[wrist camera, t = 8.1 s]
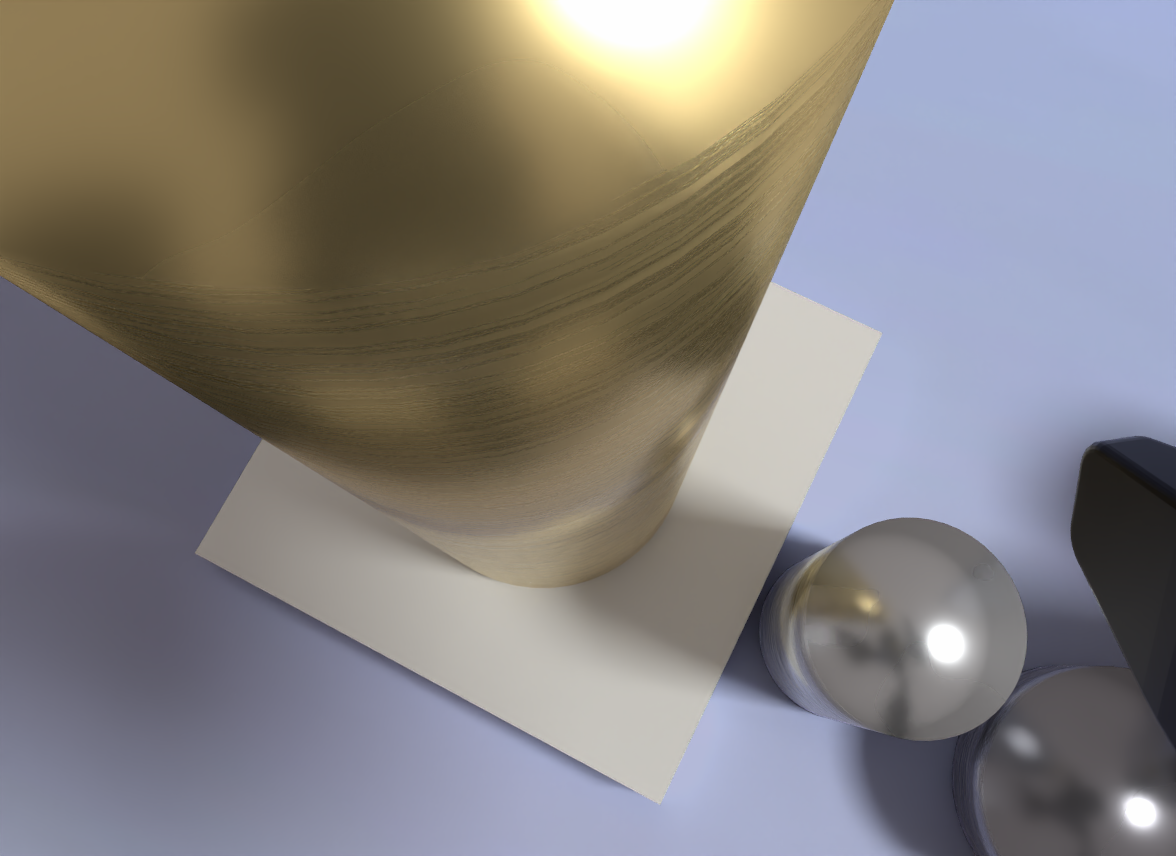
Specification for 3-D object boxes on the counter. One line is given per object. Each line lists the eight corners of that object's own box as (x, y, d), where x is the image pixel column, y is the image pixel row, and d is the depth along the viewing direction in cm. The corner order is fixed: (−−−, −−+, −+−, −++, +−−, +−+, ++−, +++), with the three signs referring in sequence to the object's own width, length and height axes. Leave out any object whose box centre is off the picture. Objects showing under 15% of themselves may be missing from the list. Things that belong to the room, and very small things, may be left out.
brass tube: (657, 613, 15) (898, 424, 3) (374, 557, 16) (-654, 135, 3) (706, 339, 16) (1065, -790, 4) (439, 290, 16) (-124, -922, 4)
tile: (657, 796, 15) (660, 804, 15) (214, 558, 16) (195, 553, 16) (869, 348, 17) (882, 333, 16) (452, 153, 18) (444, 130, 17)
